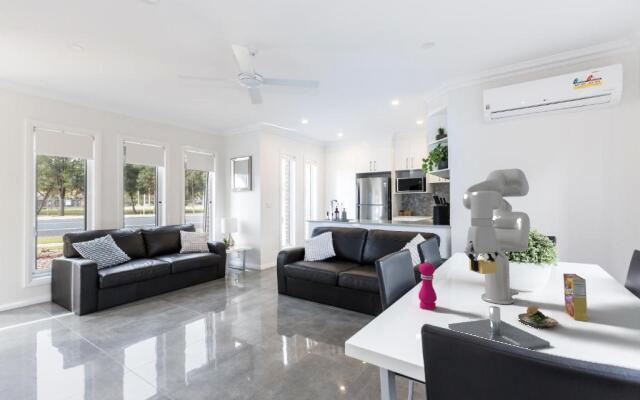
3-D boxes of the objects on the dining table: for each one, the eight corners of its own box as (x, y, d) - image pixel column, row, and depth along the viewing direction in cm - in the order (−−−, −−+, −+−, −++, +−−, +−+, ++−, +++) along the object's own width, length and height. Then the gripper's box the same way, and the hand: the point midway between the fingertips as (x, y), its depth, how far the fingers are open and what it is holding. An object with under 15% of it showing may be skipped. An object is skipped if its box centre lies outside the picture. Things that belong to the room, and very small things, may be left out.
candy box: (563, 311, 119) (562, 272, 119) (577, 313, 117) (576, 273, 118) (573, 320, 111) (572, 278, 111) (587, 321, 109) (586, 279, 109)
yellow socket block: (483, 269, 119) (483, 257, 120) (497, 273, 113) (496, 260, 113) (469, 270, 118) (469, 258, 118) (482, 274, 111) (481, 261, 112)
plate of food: (545, 333, 101) (544, 310, 101) (510, 320, 111) (510, 300, 112) (566, 326, 105) (565, 305, 106) (531, 315, 116) (530, 296, 116)
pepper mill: (438, 310, 122) (437, 261, 122) (419, 309, 123) (418, 260, 124) (435, 305, 129) (434, 258, 129) (417, 304, 130) (416, 257, 131)
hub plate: (496, 321, 110) (495, 296, 110) (549, 346, 91) (549, 315, 91) (448, 327, 105) (447, 301, 106) (494, 355, 86) (493, 322, 86)
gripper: (493, 222, 122) (494, 267, 121) (455, 223, 117) (456, 269, 117) (508, 223, 114) (509, 270, 114) (469, 224, 110) (470, 273, 110)
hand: (482, 269), depth 115 cm, fingers closed on yellow socket block, 6 cm apart
